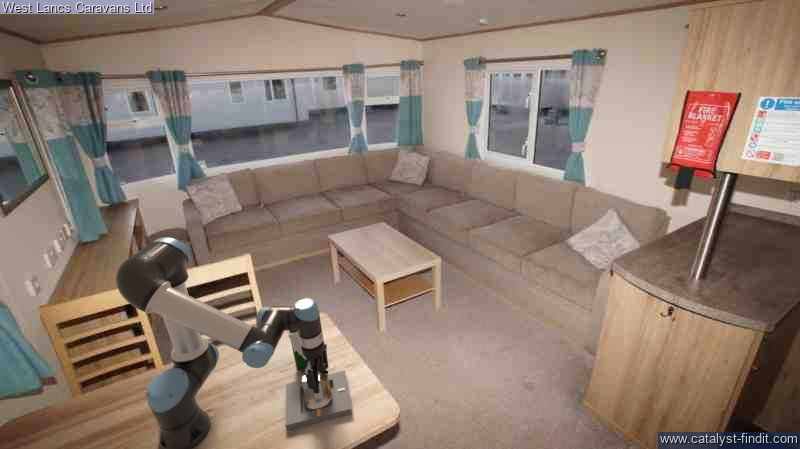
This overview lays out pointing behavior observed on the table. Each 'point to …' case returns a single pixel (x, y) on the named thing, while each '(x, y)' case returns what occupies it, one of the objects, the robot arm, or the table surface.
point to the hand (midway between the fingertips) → (321, 392)
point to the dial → (309, 397)
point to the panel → (302, 416)
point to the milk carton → (297, 350)
